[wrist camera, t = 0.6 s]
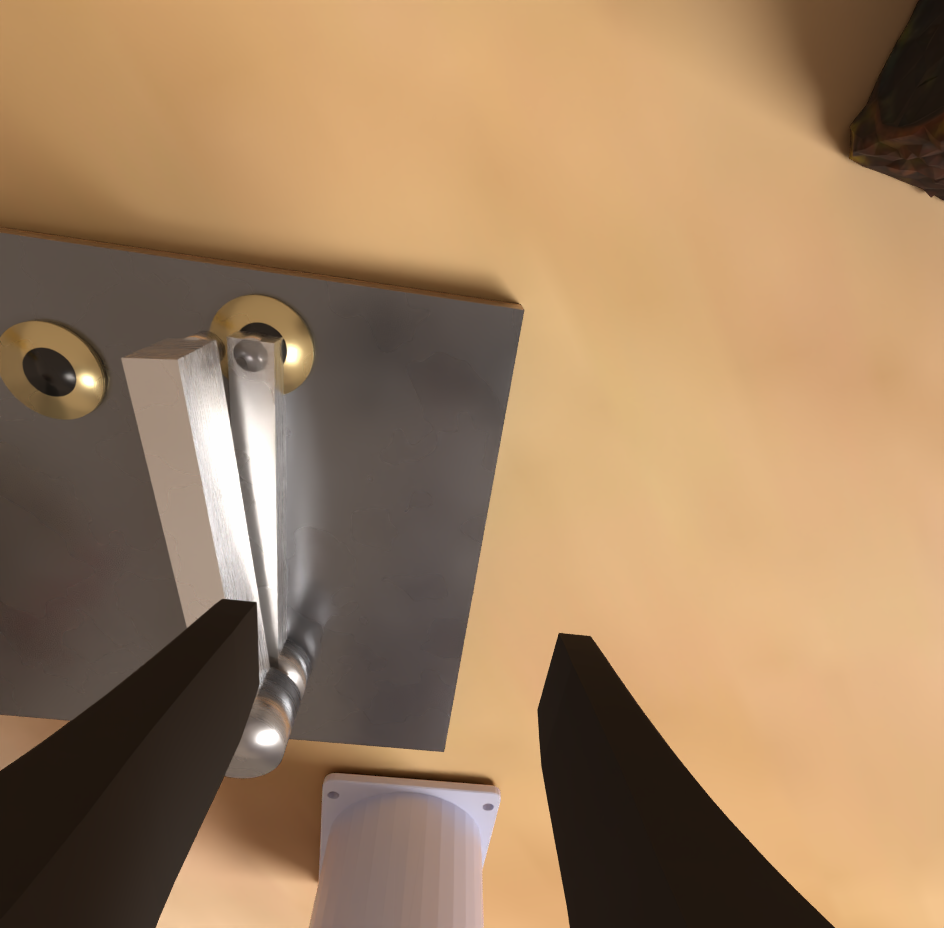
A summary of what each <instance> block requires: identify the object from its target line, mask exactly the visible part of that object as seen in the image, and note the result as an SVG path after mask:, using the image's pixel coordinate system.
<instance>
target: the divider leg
mask: <svg viewBox="0 0 944 928" xmlns="http://www.w3.org/2000/svg"><path fill="white" fill-rule="evenodd" d="M225 353H226V348H225V344H224V342H223V341H222V339H221V338H220V337H219V336H218V335H217V334H215V333H213V332H211V331H206V330H205V331H199V332H197V333H195V334H193V335H190V336H188V337H186V338H184V339H180V338H166V339H164V340H162V341H159V342H157V343H155V344H152V345H150V346H148V347H145V348H143V349H141V350H138V351H136V352H134V353H131V354H129V355H126V356H124V357H122V358H121V360H122V364H123V368H124V372H125V376H126V380H127V384H128V388H129V393H130V397H131V401H132V405H133V409H134V413H135V417H136V421H137V425H138V429H139V434H140V438H141V442H142V446H143V450H144V454H145V458H146V462H147V466H148V470H149V475H150V479H151V483H152V487H153V491H154V495H155V499H156V503H157V507H158V511H159V515H160V520H161V524H162V528H163V532H164V536H165V540H166V544H167V548H168V552H169V556H170V561H171V565H172V569H173V573H174V577H175V581H176V585H177V589H178V593H179V597H180V601H181V606H182V610H183V614H184V618H185V622H186V626H187V628H188V627H189V626H190V625H191V624H192V623H193V622H195V621H196V620H197V619H198V618H199V617H200V616H202V615H203V614H204V613H205V612H206V611H207V610H209V609H210V608H211V607H212V606H213V605H214V604H216V603H217V602H218V601H220V600H221V599H232V600H242V601H251V602H257V621H258V651H259V681H260V685H259V688H258V691H257V694H256V697H255V700H254V703H253V706H252V709H251V712H250V715H249V718H248V721H247V724H246V726H245V729H244V732H243V735H242V738H241V741H240V743H239V745H238V747H237V750H236V752H235V754H234V756H233V758H232V760H231V763H230V765H229V767H228V769H227V771H226V773H225V776H227V777H232V778H254V777H258V776H262V775H265V774H267V773H269V772H271V771H272V770H274V769H275V768H276V767H277V766H278V765H279V764H280V762H281V760H282V758H283V755H284V752H285V749H286V746H287V743H288V740H289V737H290V734H291V731H292V728H293V725H294V722H295V719H296V716H297V713H298V710H299V707H300V703H301V695H300V691H299V689H298V687H297V685H296V684H295V682H294V681H293V680H292V679H291V678H290V677H289V676H287V675H286V674H285V673H283V672H281V671H280V670H278V669H275V668H273V667H270V663H269V657H268V651H267V645H266V639H265V633H264V627H263V621H262V615H261V609H260V603H259V596H258V590H257V584H256V578H255V572H254V566H253V560H252V554H251V548H250V542H249V536H248V530H247V524H246V518H245V511H244V505H243V499H242V493H241V487H240V481H239V475H238V469H237V463H236V457H235V451H234V445H233V439H232V433H231V427H230V420H229V414H228V408H227V402H226V396H225V390H224V384H223V378H222V372H221V366H220V361H222V360H223V358H224V357H225Z"/></svg>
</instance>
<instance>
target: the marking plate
mask: <svg viewBox="0 0 944 928" xmlns="http://www.w3.org/2000/svg"><path fill="white" fill-rule="evenodd" d="M523 314H524V309H523V307H522V305H521V304H516V303H509V302H503V301H496V300H489V299H482V298H476V297H469V296H462V295H455V294H449V293H442V292H435V291H428V290H422V289H415V288H408V287H401V286H395V285H388V284H381V283H375V282H368V281H361V280H354V279H348V278H341V277H334V276H327V275H321V274H314V273H307V272H300V271H294V270H287V269H280V268H273V267H267V266H260V265H253V264H247V263H240V262H233V261H226V260H220V259H213V258H206V257H199V256H193V255H186V254H179V253H172V252H166V251H159V250H152V249H145V248H139V247H132V246H125V245H119V244H112V243H105V242H98V241H92V240H85V239H78V238H71V237H65V236H58V235H51V234H44V233H38V232H31V231H24V230H17V229H11V228H4V227H0V715H10V716H22V717H34V718H46V719H58V720H70V721H71V720H73V719H74V718H75V717H77V716H78V715H79V714H81V713H82V712H83V711H85V710H86V709H87V708H89V707H90V706H91V705H93V704H94V703H95V702H97V701H98V700H99V699H101V698H102V697H103V696H105V695H106V694H107V693H108V692H110V691H111V690H112V689H114V688H115V687H116V686H117V685H119V684H120V683H121V682H122V681H124V680H125V679H126V678H127V677H128V676H130V675H131V674H132V673H133V672H135V671H136V670H137V669H138V668H140V667H141V666H142V665H143V664H145V663H146V662H147V661H148V660H149V659H151V658H152V657H153V656H154V655H156V654H157V653H158V652H159V651H160V650H162V649H163V648H164V647H165V646H166V645H168V644H169V643H170V642H171V641H172V640H173V639H175V638H176V637H177V636H178V635H179V634H181V633H182V632H183V631H184V630H185V629H186V628H187V626H186V622H185V618H184V614H183V610H182V606H181V601H180V597H179V593H178V589H177V585H176V581H175V577H174V573H173V569H172V565H171V561H170V556H169V552H168V548H167V544H166V540H165V536H164V532H163V528H162V524H161V520H160V515H159V511H158V507H157V503H156V499H155V495H154V491H153V487H152V483H151V479H150V475H149V470H148V466H147V462H146V458H145V454H144V450H143V446H142V442H141V438H140V434H139V429H138V425H137V421H136V417H135V413H134V409H133V405H132V401H131V397H130V393H129V388H128V384H127V380H126V376H125V372H124V368H123V364H122V360H121V358H122V357H124V356H126V355H129V354H131V353H134V352H136V351H138V350H141V349H143V348H145V347H148V346H150V345H152V344H155V343H157V342H159V341H162V340H164V339H166V338H180V339H184V338H186V337H188V336H190V335H193V334H195V333H197V332H199V331H205V330H206V331H211V332H213V333H215V334H217V335H218V336H219V337H220V338H221V339H222V341H223V342H224V344H225V348H226V353H225V357H224V358H223V360H222V361H220V366H221V372H222V378H223V384H224V390H225V396H226V402H227V408H228V414H229V420H230V427H231V433H232V439H233V445H234V451H235V457H236V463H237V469H238V475H239V481H240V487H241V493H242V499H243V505H244V511H245V518H246V524H247V530H248V536H249V542H250V548H251V554H252V560H253V566H254V572H255V578H256V584H257V590H258V596H259V603H260V609H261V615H262V621H263V627H264V633H265V639H266V645H267V651H268V657H269V663H270V667H273V668H275V669H278V670H280V671H281V672H283V673H285V674H286V675H287V676H289V677H290V678H291V679H292V680H293V681H294V682H295V684H296V685H297V687H298V689H299V691H300V695H301V703H300V707H299V710H298V713H297V716H296V719H295V722H294V725H293V728H292V731H291V734H290V737H289V739H296V740H308V741H320V742H332V743H344V744H356V745H367V746H379V747H391V748H403V749H415V750H427V751H439V752H444V749H445V744H446V738H447V733H448V727H449V722H450V716H451V711H452V705H453V700H454V694H455V689H456V683H457V678H458V672H459V667H460V661H461V656H462V650H463V645H464V639H465V634H466V628H467V623H468V617H469V612H470V606H471V601H472V595H473V590H474V584H475V579H476V573H477V568H478V562H479V557H480V551H481V546H482V540H483V535H484V529H485V523H486V518H487V512H488V507H489V501H490V496H491V490H492V485H493V479H494V474H495V468H496V463H497V457H498V452H499V446H500V441H501V435H502V430H503V424H504V419H505V413H506V408H507V402H508V397H509V391H510V386H511V380H512V375H513V369H514V364H515V358H516V353H517V347H518V342H519V336H520V331H521V325H522V320H523Z"/></svg>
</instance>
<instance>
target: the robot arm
mask: <svg viewBox="0 0 944 928" xmlns="http://www.w3.org/2000/svg"><path fill="white" fill-rule="evenodd" d="M259 685H260V681H259V651H258V621H257V602H251V601H242V600H232V599H221V600H220V601H218V602H217V603H216V604H214V605H213V606H212V607H211V608H210V609H209V610H207V611H206V612H205V613H204V614H203V615H202V616H200V617H199V618H198V619H197V620H196V621H195V622H193V623H192V624H191V625H190V626H189V627H188V628H186V629H185V630H184V631H183V632H182V633H181V634H179V635H178V636H177V637H176V638H175V639H173V640H172V641H171V642H170V643H169V644H168V645H166V646H165V647H164V648H163V649H162V650H160V651H159V652H158V653H157V654H156V655H154V656H153V657H152V658H151V659H149V660H148V661H147V662H146V663H145V664H143V665H142V666H141V667H140V668H138V669H137V670H136V671H135V672H133V673H132V674H131V675H130V676H128V677H127V678H126V679H125V680H124V681H122V682H121V683H120V684H119V685H117V686H116V687H115V688H114V689H112V690H111V691H110V692H108V693H107V694H106V695H105V696H103V697H102V698H101V699H99V700H98V701H97V702H95V703H94V704H93V705H91V706H90V707H89V708H87V709H86V710H85V711H83V712H82V713H81V714H79V715H78V716H77V717H75V718H74V719H73V720H71V721H70V722H69V723H67V724H66V725H65V726H63V727H62V728H61V729H59V730H58V731H57V732H55V733H54V734H53V735H51V736H50V737H48V738H47V739H46V740H44V741H43V742H41V743H40V744H39V745H37V746H36V747H34V748H33V749H31V750H30V751H29V752H27V753H26V754H24V755H23V756H21V757H20V758H19V759H17V760H16V761H14V762H13V763H11V764H10V765H8V766H7V767H5V768H4V769H2V770H1V771H0V928H156V925H157V923H158V920H159V918H160V915H161V913H162V910H163V908H164V906H165V903H166V901H167V899H168V896H169V894H170V892H171V889H172V887H173V885H174V882H175V880H176V878H177V876H178V874H179V872H180V869H181V867H182V865H183V863H184V861H185V859H186V857H187V855H188V852H189V850H190V848H191V846H192V844H193V842H194V840H195V838H196V835H197V833H198V831H199V829H200V827H201V825H202V823H203V820H204V818H205V816H206V814H207V812H208V810H209V808H210V806H211V803H212V801H213V799H214V797H215V795H216V793H217V791H218V789H219V786H220V784H221V782H222V780H223V778H224V776H225V773H226V771H227V769H228V767H229V765H230V763H231V760H232V758H233V756H234V754H235V752H236V750H237V747H238V745H239V743H240V741H241V738H242V735H243V732H244V729H245V726H246V724H247V721H248V718H249V715H250V712H251V709H252V706H253V703H254V700H255V697H256V694H257V691H258V688H259ZM538 725H539V741H540V753H541V766H542V772H543V778H544V783H545V789H546V795H547V800H548V806H549V812H550V817H551V823H552V828H553V833H554V839H555V844H556V850H557V855H558V861H559V866H560V872H561V877H562V883H563V888H564V893H565V899H566V904H567V911H568V917H569V924H570V928H835V927H834V926H833V925H832V924H831V923H830V922H829V921H827V920H826V919H825V918H824V917H823V916H822V915H821V914H820V913H819V912H818V911H817V910H816V909H815V908H814V907H813V906H812V905H811V904H810V903H809V902H808V901H807V900H806V899H805V898H804V897H803V896H802V895H801V894H800V893H799V892H798V891H797V890H796V889H795V888H794V887H793V886H792V885H791V884H790V883H789V882H788V881H787V880H786V879H785V878H784V877H783V876H782V875H781V874H780V873H779V872H778V871H777V870H776V869H775V868H774V867H773V866H772V865H771V864H770V863H769V862H768V861H767V860H766V859H765V858H764V856H763V855H762V854H761V853H760V852H759V851H758V850H757V849H756V848H755V847H754V846H753V845H752V843H751V842H750V841H749V840H748V839H747V838H746V837H745V836H744V835H743V834H742V833H741V831H740V830H739V829H738V828H737V827H736V826H735V825H734V824H733V823H732V822H731V821H730V820H729V818H728V817H727V816H726V815H725V814H724V813H723V812H722V810H721V809H720V808H719V807H718V806H717V805H716V804H715V802H714V801H713V800H712V799H711V798H710V797H709V795H708V794H707V793H706V792H705V790H704V789H703V788H702V787H701V786H700V784H699V783H698V782H697V781H696V779H695V778H694V777H693V776H692V775H691V773H690V772H689V771H688V770H687V768H686V767H685V766H684V765H683V763H682V762H681V761H680V760H679V758H678V757H677V756H676V754H675V753H674V752H673V751H672V749H671V748H670V747H669V745H668V744H667V743H666V741H665V740H664V739H663V737H662V736H661V735H660V733H659V732H658V731H657V729H656V728H655V727H654V725H653V724H652V723H651V721H650V720H649V719H648V717H647V716H646V715H645V713H644V712H643V711H642V709H641V708H640V706H639V705H638V704H637V702H636V701H635V699H634V698H633V697H632V695H631V694H630V692H629V691H628V689H627V688H626V687H625V685H624V684H623V682H622V681H621V679H620V678H619V676H618V675H617V674H616V672H615V671H614V669H613V668H612V666H611V665H610V663H609V662H608V660H607V659H606V657H605V656H604V655H603V653H602V652H601V650H600V649H599V647H598V646H597V644H596V643H595V642H594V640H593V639H592V638H591V636H584V635H574V634H564V633H559V634H558V638H557V642H556V645H555V649H554V652H553V656H552V660H551V663H550V667H549V670H548V674H547V678H546V681H545V685H544V688H543V692H542V696H541V699H540V703H539V706H538ZM500 801H501V797H500V790H499V788H497V787H496V786H492V785H482V784H470V783H457V782H445V781H432V780H420V779H407V778H395V777H382V776H369V775H357V774H344V773H331V774H328V775H327V776H325V779H324V782H323V787H322V812H321V837H320V862H319V883H318V888H317V893H316V897H315V902H314V906H313V911H312V916H311V920H310V925H309V928H484V921H483V886H482V869H483V865H484V861H485V857H486V854H487V850H488V846H489V842H490V839H491V835H492V831H493V827H494V823H495V820H496V816H497V812H498V808H499V804H500Z"/></svg>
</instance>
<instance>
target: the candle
mask: <svg viewBox="0 0 944 928" xmlns="http://www.w3.org/2000/svg"><path fill="white" fill-rule="evenodd" d="M850 129H851V141H850V154H849V159H851V160H853V161H854V162H856V163H858V164H860V165H861V166H863V167H866V168H869V169H872V170H875V171H878V172H881V173H884V174H886V175H889V176H891V177H894V178H896V179H899V180H901V181H903V182H906V183H908V184H911V185H914V186H917V187H920V188H923V189H924V190H925V191H926V192H927V194H928V195H929V196H930V197H932V196H934V195H935V196H937V197H939V198H940V199H942V200H944V0H919V2H918V4H917V6H916V8H915V10H914V12H913V14H912V17H911V19H910V21H909V23H908V25H907V27H906V28H905V30H904V32H903V33H902V35H901V36H900V38H899V40H898V41H897V43H896V45H895V47H894V49H893V51H892V53H891V55H890V57H889V59H888V60H887V62H886V64H885V66H884V68H883V70H882V72H881V74H880V76H879V78H878V81H877V83H876V85H875V88H874V90H873V92H872V95H871V97H870V99H869V102H868V104H867V105H866V106H865V108H864V109H863V110H862V111H861V113H860V114H859V115H858V116H857V118H856V119H855V120H854V122H853V123H852V124H851V126H850Z"/></svg>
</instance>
